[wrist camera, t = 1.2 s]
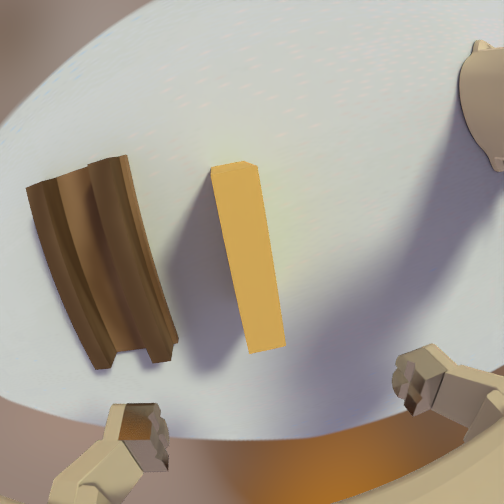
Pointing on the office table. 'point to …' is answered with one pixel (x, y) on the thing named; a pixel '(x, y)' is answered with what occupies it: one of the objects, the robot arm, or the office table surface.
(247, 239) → the door panel
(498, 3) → the office table surface
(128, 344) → the sliding track
